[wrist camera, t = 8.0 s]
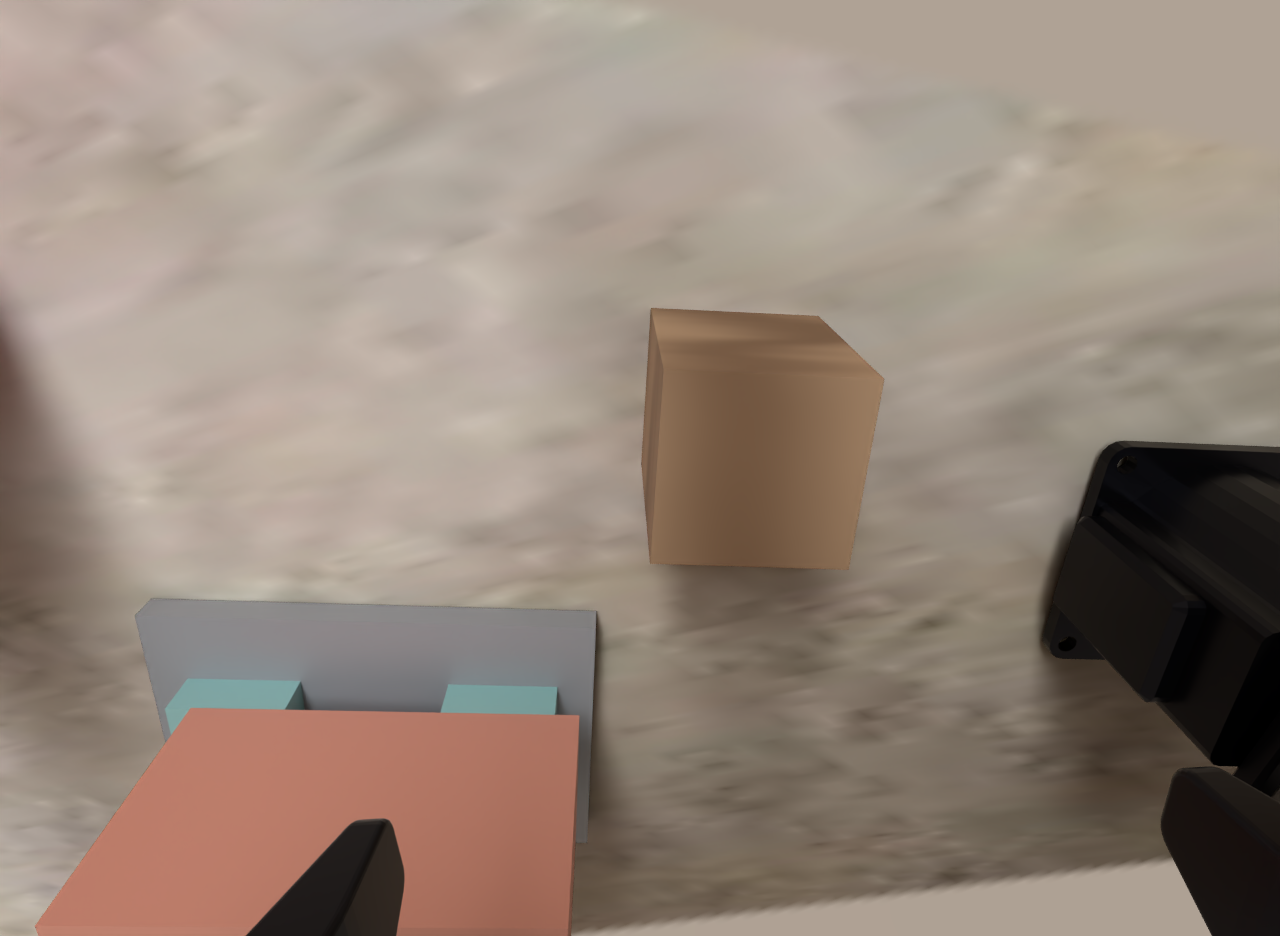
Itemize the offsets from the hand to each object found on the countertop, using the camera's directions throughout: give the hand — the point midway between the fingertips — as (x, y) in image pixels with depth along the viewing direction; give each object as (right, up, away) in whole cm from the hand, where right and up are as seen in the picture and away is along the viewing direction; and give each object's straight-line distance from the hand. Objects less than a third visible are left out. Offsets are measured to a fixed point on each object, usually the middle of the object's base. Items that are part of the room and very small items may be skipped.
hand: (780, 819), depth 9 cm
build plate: (-9, -3, +14) cm, 17 cm away
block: (+1, +6, +10) cm, 12 cm away
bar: (-8, -4, +12) cm, 15 cm away
